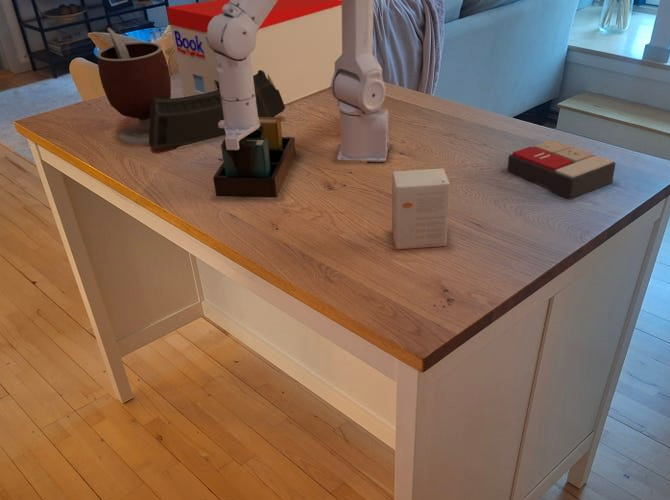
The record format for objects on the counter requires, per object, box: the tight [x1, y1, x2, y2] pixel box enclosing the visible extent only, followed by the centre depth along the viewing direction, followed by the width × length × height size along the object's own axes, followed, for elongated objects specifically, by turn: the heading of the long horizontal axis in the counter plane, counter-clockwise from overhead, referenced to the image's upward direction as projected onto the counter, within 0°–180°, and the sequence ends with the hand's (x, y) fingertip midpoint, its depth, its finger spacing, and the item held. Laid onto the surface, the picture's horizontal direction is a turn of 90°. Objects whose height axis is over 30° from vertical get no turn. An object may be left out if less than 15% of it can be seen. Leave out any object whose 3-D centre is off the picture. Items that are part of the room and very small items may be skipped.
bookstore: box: [166, 0, 342, 106], centre depth 155 cm, size 21×35×21 cm, turn 137°
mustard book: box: [258, 116, 283, 149], centre depth 126 cm, size 7×3×8 cm, turn 82°
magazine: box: [149, 70, 286, 150], centre depth 137 cm, size 17×3×30 cm
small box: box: [391, 167, 451, 250], centre depth 100 cm, size 8×6×10 cm
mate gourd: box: [96, 27, 172, 146], centre depth 137 cm, size 16×14×20 cm
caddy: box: [212, 136, 297, 198], centre depth 123 cm, size 11×19×4 cm, turn 172°
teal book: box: [220, 138, 272, 177], centre depth 116 cm, size 8×3×8 cm, turn 82°
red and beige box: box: [507, 139, 616, 200], centre depth 117 cm, size 11×4×15 cm
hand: (248, 173), depth 117 cm, fingers closed on teal book, 3 cm apart
